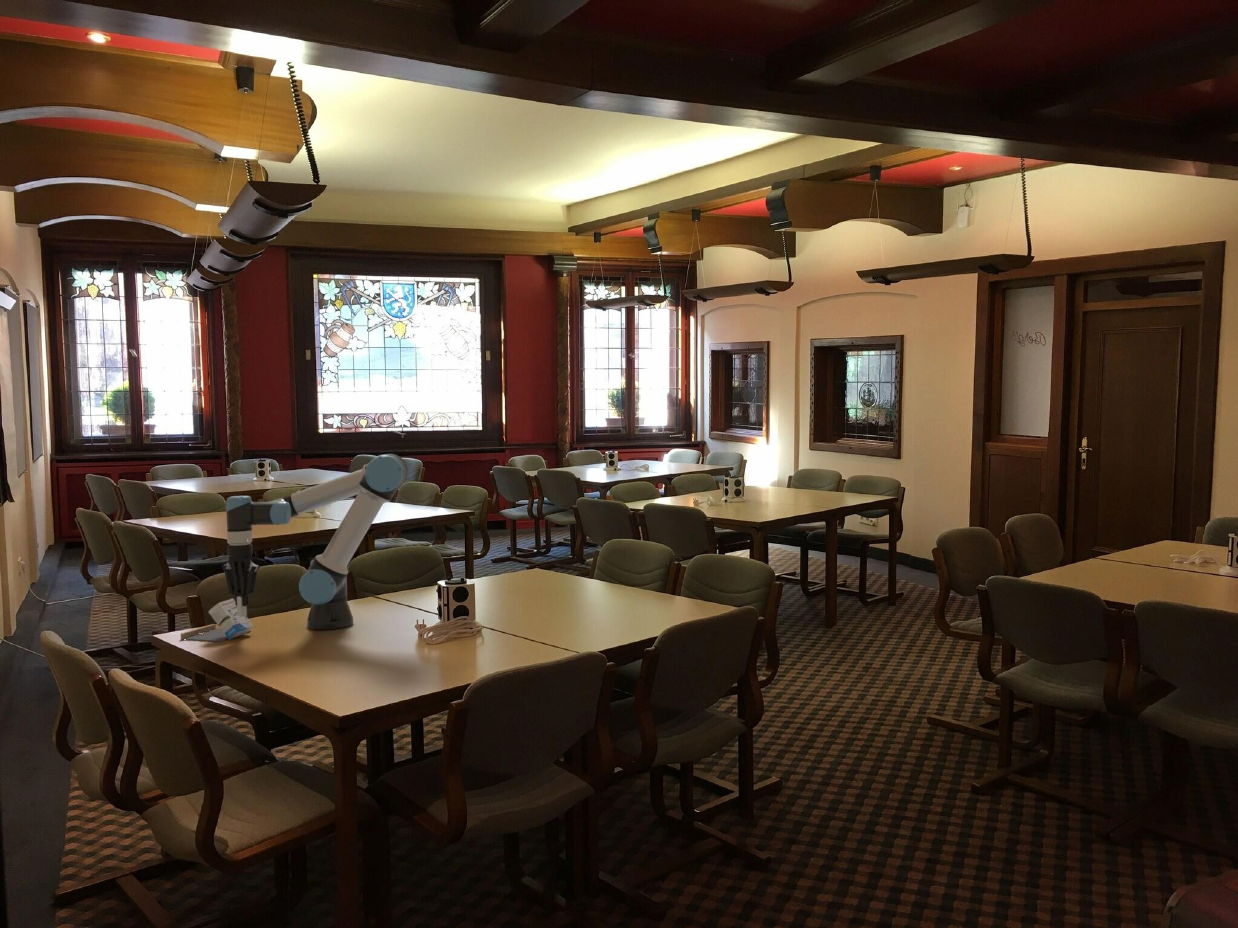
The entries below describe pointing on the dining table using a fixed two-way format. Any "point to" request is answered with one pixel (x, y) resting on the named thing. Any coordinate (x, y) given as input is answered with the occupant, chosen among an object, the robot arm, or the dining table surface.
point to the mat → (206, 634)
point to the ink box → (230, 619)
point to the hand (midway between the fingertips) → (242, 615)
